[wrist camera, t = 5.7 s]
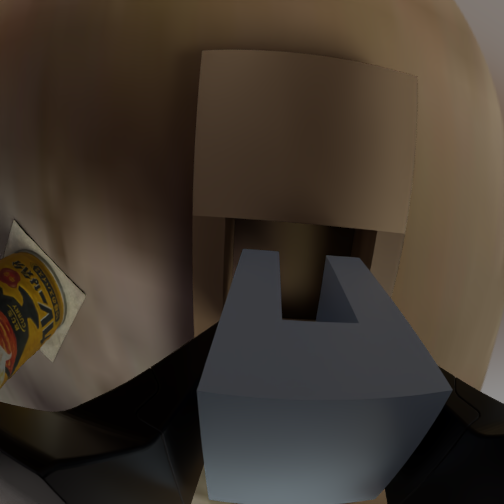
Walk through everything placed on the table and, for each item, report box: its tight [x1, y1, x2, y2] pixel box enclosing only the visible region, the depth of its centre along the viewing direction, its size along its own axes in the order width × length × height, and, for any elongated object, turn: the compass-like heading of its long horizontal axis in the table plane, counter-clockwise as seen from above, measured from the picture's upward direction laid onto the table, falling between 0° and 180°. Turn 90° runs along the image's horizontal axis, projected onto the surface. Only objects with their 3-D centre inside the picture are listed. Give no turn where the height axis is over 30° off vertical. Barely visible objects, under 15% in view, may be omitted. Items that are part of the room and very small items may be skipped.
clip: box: [197, 249, 453, 504], centre depth 7 cm, size 4×4×7 cm
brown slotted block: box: [192, 50, 418, 338], centre depth 13 cm, size 8×20×3 cm, turn 177°
